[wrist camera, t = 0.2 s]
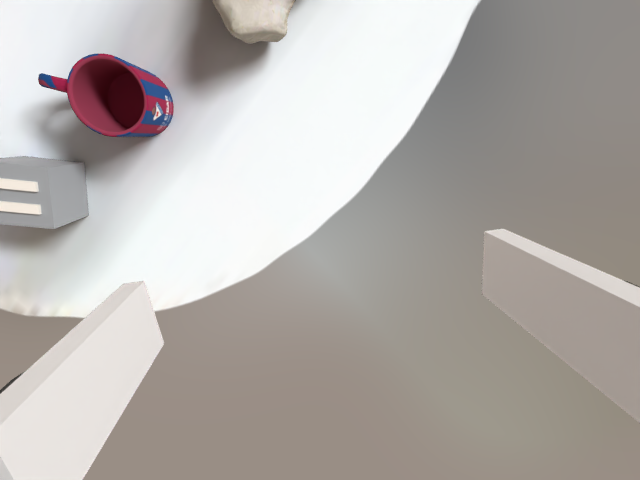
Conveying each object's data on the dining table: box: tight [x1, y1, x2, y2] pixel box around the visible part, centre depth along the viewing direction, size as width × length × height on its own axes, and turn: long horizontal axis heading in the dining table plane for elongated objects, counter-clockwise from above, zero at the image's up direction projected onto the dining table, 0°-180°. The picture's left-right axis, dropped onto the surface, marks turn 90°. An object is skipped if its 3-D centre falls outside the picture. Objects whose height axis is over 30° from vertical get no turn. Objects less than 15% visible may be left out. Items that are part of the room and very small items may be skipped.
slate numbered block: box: [0, 156, 89, 229], centre depth 34 cm, size 6×6×6 cm
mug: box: [38, 54, 173, 137], centre depth 32 cm, size 7×10×7 cm
